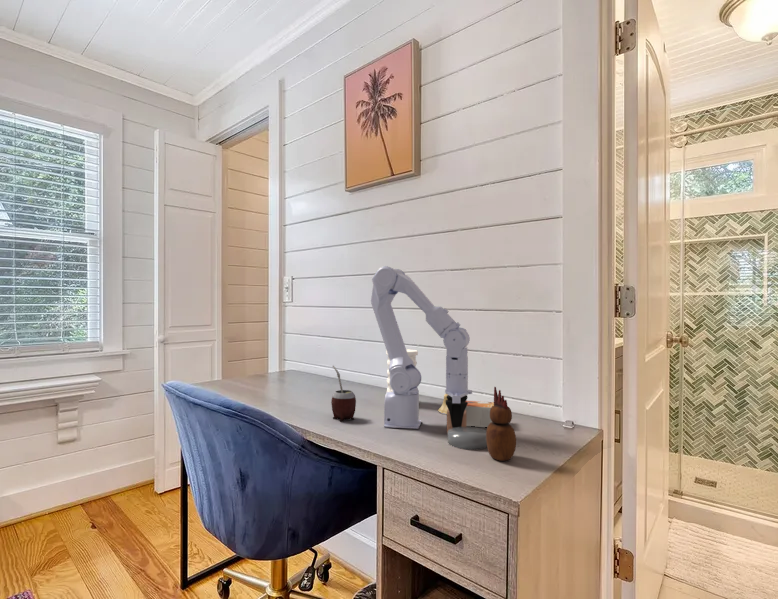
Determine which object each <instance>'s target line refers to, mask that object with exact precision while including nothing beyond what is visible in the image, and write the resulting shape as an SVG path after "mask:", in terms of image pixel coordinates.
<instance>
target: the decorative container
mask: <svg viewBox="0 0 778 599" xmlns="http://www.w3.org/2000/svg"><path fill="white" fill-rule="evenodd" d="M406 351H407V354H408V356H409V357H410V358H411V359H412V361H413V363H414V365H415V367H416V368H417V366H416V365H417V364H418V363H417V359H416V358H417V356H418V354H419V351H418V350H416V349H408V348H406ZM385 355H387V361H386V363H387V364H386V365H387V370H386V374H387V378H386V384H387V389H386V393H387V392H393V389H392V388H391V386H390V372H389V365H390V359H389V356H388V353H387V350H385Z"/></svg>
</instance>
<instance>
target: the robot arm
mask: <svg viewBox="0 0 778 599" xmlns="http://www.w3.org/2000/svg"><path fill="white" fill-rule="evenodd" d="M371 278H372V279H371V282H372V291H371V298H370V299H371V300H370V303H371V307H372V311H373V313H374V316H375V319H376V321H377V322H376V323H377V325H378V328H379V332H380V334H381V337H382V340H383V341H382V342H383V343H384V346H385V349H386V350H387V353H388V355H387V357H388V356H389V359H390V365H389V372H390V386H391V388H392V389H393V392H387V391H386V393H385V395H384V404H383V405H384V406H383V408H384V411H383V412H384V413H383V414H384V415H383V423H384V425H383V427H384V428H395V429H397V428H399V429H415V430H418V429H419V428H420V426H421V423H422V420H421V419H419V416H420V411H419V410H420V408H419V407H420V406H419V404H420V400H419V399H420V394H419V393H420V390H419V388H418V387H419V386H420V384H421V383H422V374H421V372H420V370H419V369H418V368H417V366H416V367H415V365H414V363H413V361H412V359H411V358H410V357H409V356H408V354H407V351H406V349H407V348H406V345H405V341H404V340H403V336H402V334H401V330H400V328H399V324H398V320H397V319H396V316H395V312H394V309H393V306H392V302H393V301H394V298H395V297H396V295H397V294H398V293H402V294H405V295H406V296H407V297H408V298H409V299H410V300H411V301H412V302H413V303H414V304H415V305H416V306H417V307H418V308H419V309H420V310H421V311H422V312H423V313H424V314H425V322H426V323H427V324H428V325H429V327H431V328H432V329H433V331H434V332H435V333H436V334H437V335H438V337H439V338H441V339H442V340H443V344H444V346H445V348H446V356H445V390H444V394H447V399H448V400H446V405H447V407H448V410H449V413H450V418H451V424H452V428H455V427H461V425H462V420H463V414H464V411H465V408H466V406H467V404H468V402H466V401H468V395H472V394H473V390H472V389H471V390H470V389H469V386H468V385H469V382H468V381H469V380H468V378H469V375H468V374H469V358H468V345H469V343H470V334H469V332H468V331H467V330H466V329H465V328H464V327H461V324H460V323H459V322H456V321H455V320H454V319H453V317H452V316H451V315H450V314H449V312H450V311H449V310H448V309H447V308H445V307H444V308H443V306H439V305H438V306H435V305H434V304H433V303H432V301H431V300H430V299H429V298H428V297H427V296H426V294H425V293H424V292H423V291H422V289H421V288H420V287H419V286H418V285H417V284H416V283H415V281H414V280H413V279H412V278H411V277H410V276H408V275H406V273H405V271H404V270H401V269H399V268H394V267H390V266H388V265H383V266H381V267H379V268H378V269H377V270H376V272H375V274H374V275H373V276H372V277H371ZM386 350H385V351H386Z"/></svg>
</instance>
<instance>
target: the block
mask: <svg viewBox="0 0 778 599" xmlns="http://www.w3.org/2000/svg"><path fill="white" fill-rule="evenodd" d="M461 427H467V426H466V410H465V411H464V414H463V420H462V425H461ZM451 428H452V424H451V418H450V413H449V410H447V415H446V434H448V430H449V429H451Z"/></svg>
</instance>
